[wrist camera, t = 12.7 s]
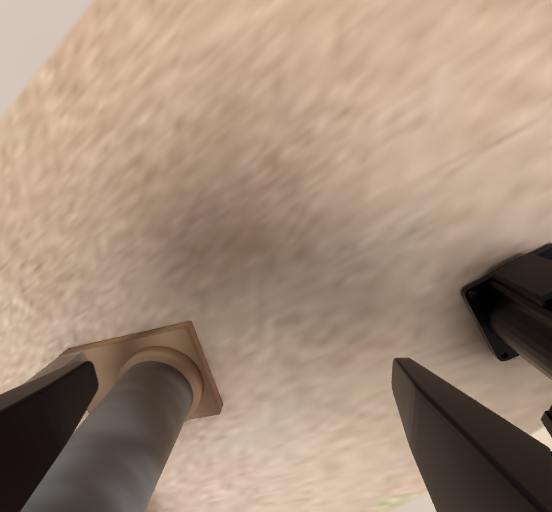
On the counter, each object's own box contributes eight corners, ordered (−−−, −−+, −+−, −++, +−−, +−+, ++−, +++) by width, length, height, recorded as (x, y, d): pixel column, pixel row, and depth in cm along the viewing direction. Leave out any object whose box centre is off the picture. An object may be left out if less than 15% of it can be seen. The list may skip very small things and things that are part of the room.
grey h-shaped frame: (190, 321, 22) (106, 437, 12) (223, 404, 24) (172, 561, 14) (68, 348, 23) (-94, 470, 13) (108, 424, 25) (-9, 578, 15)
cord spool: (219, 378, 22) (120, 651, 9) (175, 427, 23) (38, 718, 11) (151, 330, 21) (-61, 558, 8) (110, 384, 22) (-121, 644, 10)
